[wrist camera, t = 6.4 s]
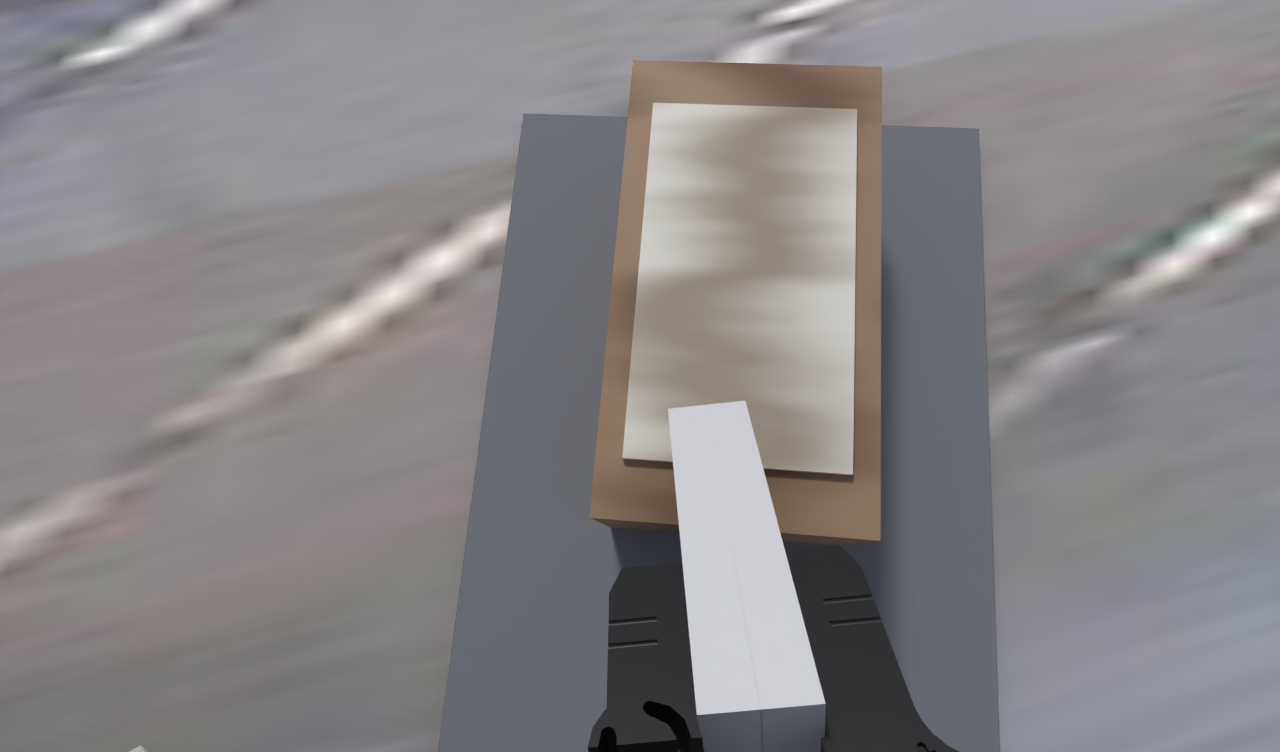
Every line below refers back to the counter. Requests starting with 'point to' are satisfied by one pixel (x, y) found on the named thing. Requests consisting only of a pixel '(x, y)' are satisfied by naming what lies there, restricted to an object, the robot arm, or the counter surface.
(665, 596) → the robot arm
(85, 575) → the counter surface
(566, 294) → the mat
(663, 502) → the label block
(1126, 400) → the counter surface
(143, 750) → the die
